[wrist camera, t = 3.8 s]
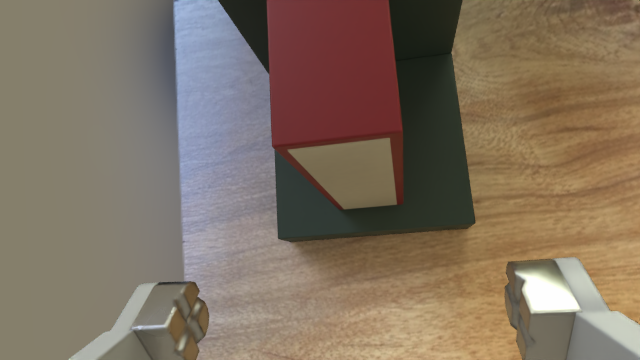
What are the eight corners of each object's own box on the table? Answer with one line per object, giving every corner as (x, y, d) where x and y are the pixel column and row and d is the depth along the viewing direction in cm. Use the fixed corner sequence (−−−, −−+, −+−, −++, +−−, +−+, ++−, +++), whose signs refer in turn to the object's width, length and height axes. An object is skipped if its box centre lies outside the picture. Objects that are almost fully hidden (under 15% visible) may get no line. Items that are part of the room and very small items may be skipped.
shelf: (289, 242, 30) (195, 218, 16) (276, -62, 35) (197, -266, 22) (468, 228, 28) (528, 188, 14) (424, -92, 33) (438, -339, 20)
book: (338, 210, 27) (271, 149, 13) (330, 91, 28) (263, -72, 15) (403, 205, 26) (403, 133, 12) (390, 82, 28) (378, -96, 14)
